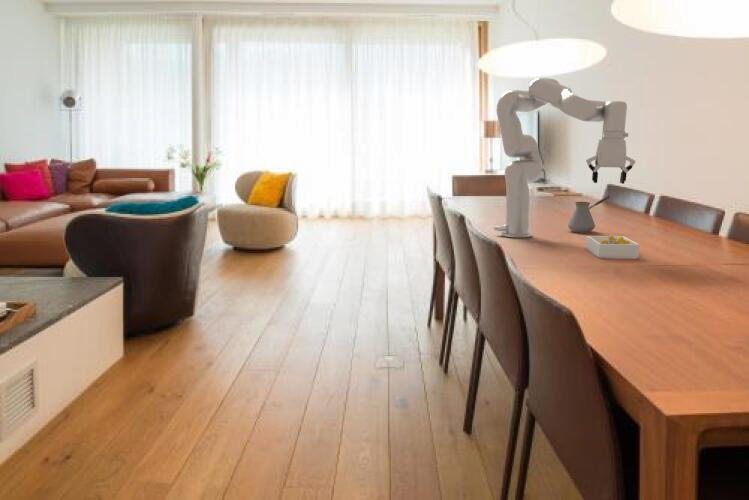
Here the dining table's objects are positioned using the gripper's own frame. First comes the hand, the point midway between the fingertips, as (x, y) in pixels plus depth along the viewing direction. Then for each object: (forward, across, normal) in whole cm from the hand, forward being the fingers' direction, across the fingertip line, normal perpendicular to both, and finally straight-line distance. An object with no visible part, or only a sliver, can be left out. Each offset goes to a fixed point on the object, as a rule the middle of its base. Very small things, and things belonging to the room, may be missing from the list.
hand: (608, 182), depth 226 cm
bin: (+24, 0, +12) cm, 27 cm away
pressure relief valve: (+21, 0, +18) cm, 27 cm away
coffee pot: (+26, -4, -40) cm, 48 cm away
